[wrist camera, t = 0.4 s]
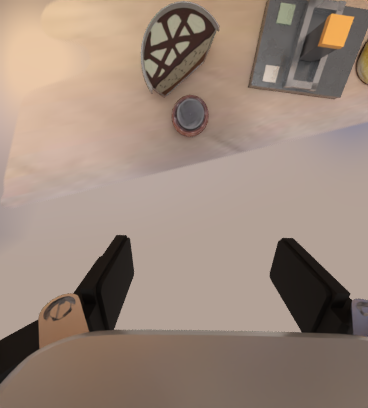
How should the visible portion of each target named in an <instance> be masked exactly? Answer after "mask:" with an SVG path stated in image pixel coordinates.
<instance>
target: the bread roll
mask: <svg viewBox="0 0 368 408" xmlns="http://www.w3.org/2000/svg"><path fill="white" fill-rule="evenodd" d="M357 72H358V75H359V77H360V79H361V80H362V81H363V82H365V83H367V84H368V42H367V43H366V45H365V47H364V49H363V51H362V53H361V56H360V58H359V60H358V62H357Z"/></svg>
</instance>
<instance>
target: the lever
mask: <svg viewBox="0 0 368 408" xmlns="http://www.w3.org/2000/svg"><path fill="white" fill-rule="evenodd" d="M353 19H354V17H352V16H345V15H339V14H330V15H329V16H328V17H327V19H326V20H325V21H324V22H322V23H321V24H320V25H319V26H318V27H316V28H315V29H314V30H313V31H311V32H310V33H309V34H308V35H307V36H306V37H305V41H304V44H303V47H302V51H301V54H300V58H299V60H304V61H311V62H315V61H317V60H319V59H321V58H322V57H324V56H326V55H328V54H329V53H331V52H333V51H335V50H337V49H340V48H342V47H344V44H345V41H346V38H347V36H348V33H349V30H350V28H351V25H352V22H353Z"/></svg>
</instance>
